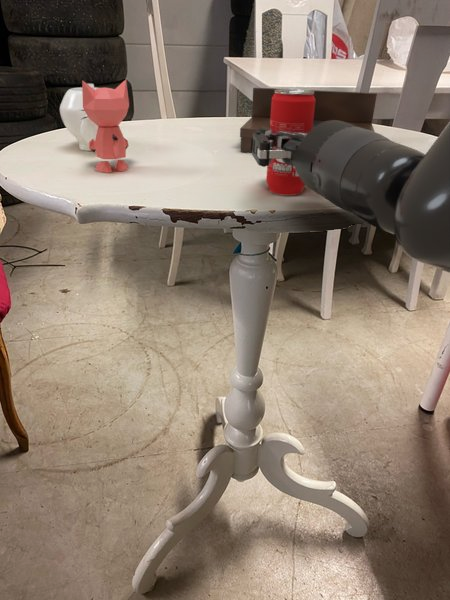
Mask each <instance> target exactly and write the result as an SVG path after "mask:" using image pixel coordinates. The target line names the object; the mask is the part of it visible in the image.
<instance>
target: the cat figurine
mask: <svg viewBox="0 0 450 600" xmlns="http://www.w3.org/2000/svg"><path fill="white" fill-rule="evenodd" d="M127 82H128V81H127V79H125V80H123V81H122V82H121V83H120V84H119V85H118V86H117V87H116V88H111V87H105V86H103V87H97V88H98V89H96V90H94V89H93V88H92V87H90V86H89V85H88V84H89V83H88V82H86V81H84V80H82V81H81V85H82V86H81V87H82V93H83V109H84V110H81V111H85V112H86V114H87V117H88V118H89V119H90V120H92V121H93V122H94V123H95V124H96V125H97V126H99V127H98V130H97V134H96V139H95V141H94V139H92V140H91V141H90V142H89V149H90V150H92V151H91V152H92V153H94V154H96V157H97V158H99V159H101V161H99V162H97V163H96V165H95V167H94V171H95V172H100V173H113V169H112V166H111V164H110V162H109V161H108V160H117V161H116V164H115V166H114V170H115V171H117V172H124V171H127V170H128V169H129V165H128V163H127V162H126V161H125V160H122V158H123V159H124V158H127V155H126V154H127V152H126V150H127V149H128V148H129V146H130V145H129V141H128V139H126V138H125V137H124V134H123V132H122V129H121V128H120V124H121V123H122V122H123V120H124V119H125V118H127V114H128V112H129V108H130V99H129V98H130V97H129V90H128V83H127ZM87 117H84V118H87ZM84 118H82V119H84ZM80 120H81V119H80Z"/></svg>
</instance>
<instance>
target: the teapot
mask: <svg viewBox="0 0 450 600" xmlns="http://www.w3.org/2000/svg"><path fill="white" fill-rule="evenodd" d="M87 84H88V85H89V86H90V87H92V88H93V89H94V90H96V89H98V88H99V87H96V86H95V84H94V83H87ZM81 110H84V109H83V93H82V86H80V87H72V88H69V89H68V90H67V91H66V92H65V93H64V95H63V98H62V100H61V103H60V104H59V114H60V118H61V121H62V124H63V125H64V126H65V128H66V129H67V131H68V132H69V133H70V134H71V135H72V137H74V138H75V139H76V141H77V142H78V147H79V149H80V150H81V151H86V152H93V151H92V150H90V149H89V142H90V141H91V140H92V139H94V141H95V139H96V134H97V130H98V127H99V126H97V125H96V124H95V123H94V122H93V121H92V120H90V119H89V118H88V117H87V114H86V112H85V111H81ZM84 117H87V118H84ZM82 118H84V119H82ZM80 119H81V120H80Z"/></svg>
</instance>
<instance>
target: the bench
mask: <svg viewBox="0 0 450 600" xmlns="http://www.w3.org/2000/svg"><path fill="white" fill-rule="evenodd" d="M277 89H278V88H273V87H253V88H252V107H251V117H250V118H249V119H248V120H247V121H246V122H245V123H244V124H243V125H242V126H241V127H240V128H239V137H240V153H249V154H252V150H253V133H256V130H258V128H259V127H267V128H269V129H270V118H271V104H272V97H273V95H274V93H275V92H274V91H275V90H277ZM310 90H311V91H314V97H315V109H314V118H313V127H315V126H317V125H319V124H321V123H323V122H326V121H330V120H339V121H343V122H346V123H349V124H352V125H355V126H358V127H361V128H364V129H367V130H370V131H373V132H376V131H375V129H374V126H373V120H374V113H375V108H376V101H377V95H378V92H362V91H341V90H340V91H339V90H321V89H319V90H318V89H310Z"/></svg>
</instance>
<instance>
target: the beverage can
mask: <svg viewBox="0 0 450 600" xmlns="http://www.w3.org/2000/svg"><path fill="white" fill-rule="evenodd" d="M276 89H277V90H275V91H274V92H275V93H274V95H273V97H272V104H271V118H270V129H271V130H273V131H275V132H279V131H284V130H290V131H295V132H309V131H310V130H312V127H313V118H314V109H315V97H314V91H311V90H312V89H303V88H276ZM290 139H291V138H289V140H290ZM275 147H276V148H277V139H275ZM266 168H267V169H266V177H265V179H266V181H265V182H266V184H267V186H268V191H269V192H270V193H272V194H274V195H278V196H298V195H300V194H302V193H303V191H304V188H305V187H306V185H305V184H304V183H303V182H302V181H301V179H300V177H299V175H298V173H297V170H296V169H295V168H294V167H293V166H292V165H288V164H285V163H282V162H279V161H277V160H276V159H272V162H271V163H269V166H266Z"/></svg>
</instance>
